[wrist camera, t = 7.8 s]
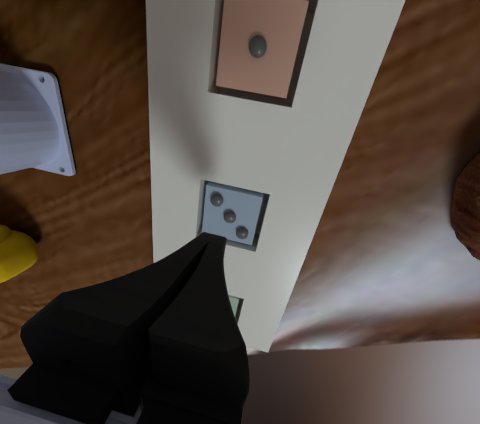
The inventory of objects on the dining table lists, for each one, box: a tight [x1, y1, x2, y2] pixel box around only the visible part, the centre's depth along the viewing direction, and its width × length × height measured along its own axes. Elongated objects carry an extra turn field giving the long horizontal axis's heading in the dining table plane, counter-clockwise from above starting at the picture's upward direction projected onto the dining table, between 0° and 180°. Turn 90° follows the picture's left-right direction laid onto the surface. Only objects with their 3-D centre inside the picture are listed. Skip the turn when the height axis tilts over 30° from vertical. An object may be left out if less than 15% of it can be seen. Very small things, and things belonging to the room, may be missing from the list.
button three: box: [202, 181, 264, 245], centre depth 16 cm, size 4×4×3 cm
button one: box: [216, 0, 309, 100], centre depth 12 cm, size 4×4×3 cm
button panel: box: [146, 0, 405, 352], centre depth 17 cm, size 12×28×3 cm, turn 171°
